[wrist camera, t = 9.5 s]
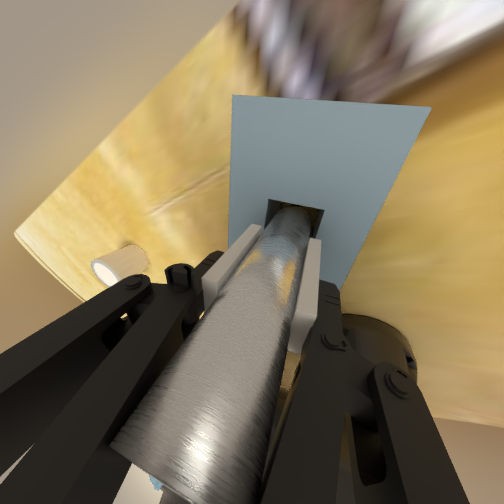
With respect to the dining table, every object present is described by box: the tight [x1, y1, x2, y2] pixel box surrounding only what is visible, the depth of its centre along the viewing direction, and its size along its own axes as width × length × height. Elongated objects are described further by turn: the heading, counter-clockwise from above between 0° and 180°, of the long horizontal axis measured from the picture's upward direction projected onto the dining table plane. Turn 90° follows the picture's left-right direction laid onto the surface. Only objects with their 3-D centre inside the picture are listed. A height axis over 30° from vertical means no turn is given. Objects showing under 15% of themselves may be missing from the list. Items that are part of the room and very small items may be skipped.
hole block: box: [228, 95, 432, 291], centre depth 19 cm, size 18×12×7 cm, turn 174°
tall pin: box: [109, 206, 311, 504], centre depth 10 cm, size 4×4×16 cm
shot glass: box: [91, 245, 150, 287], centre depth 35 cm, size 7×7×7 cm
